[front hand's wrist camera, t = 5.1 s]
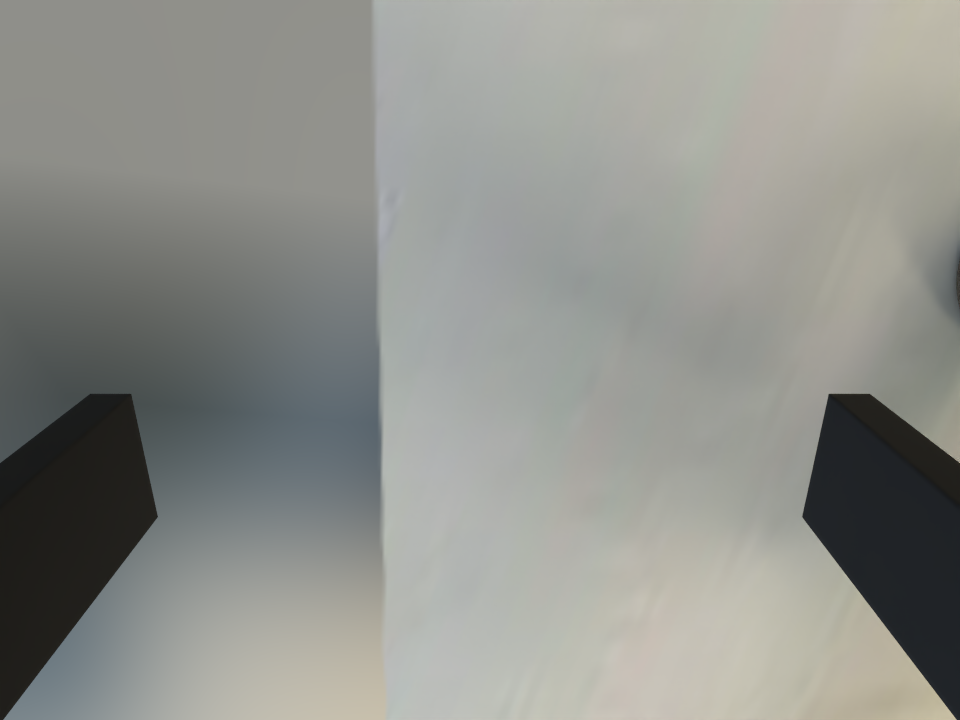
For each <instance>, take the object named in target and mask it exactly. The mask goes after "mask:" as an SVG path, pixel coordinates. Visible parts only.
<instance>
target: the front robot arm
mask: <svg viewBox="0 0 960 720" xmlns="http://www.w3.org/2000/svg"><path fill="white" fill-rule="evenodd" d="M957 295H958V302H959V307H960V261H959V266H958V274H957ZM157 517H158V516H157V511H156V507H155V502H154V498H153V493H152V488H151V484H150V479H149V474H148V470H147V465H146V461H145V456H144V451H143V447H142V442H141V437H140V433H139V428H138V424H137V419H136V415H135V410H134V405H133V401H132V396H131V394H90V395H88V396H87V397H86V398H84V399H83V400H82V401H81V402H79V403H78V404H77V405H75V406H74V407H73V408H71V409H70V410H69V411H68V412H66V413H65V414H64V415H62V416H61V417H60V418H58V419H57V420H56V421H55V422H53V423H52V424H51V425H49V426H48V427H47V428H45V429H44V430H43V431H42V432H40V433H39V434H38V435H36V436H35V437H34V438H32V439H31V440H30V441H29V442H27V443H26V444H25V445H23V446H22V447H21V448H19V449H18V450H17V451H16V452H14V453H13V454H12V455H10V456H9V457H8V458H6V459H5V460H4V461H3V462H1V463H0V720H3V719H4V718H5V717H6V715H7V714H8V713H9V711H10V710H11V709H12V707H13V706H14V705H15V703H16V702H17V701H18V700H19V698H20V697H21V696H22V694H23V693H24V692H25V690H26V689H27V688H28V686H29V685H30V684H31V683H32V681H33V680H34V679H35V677H36V676H37V675H38V673H39V672H40V671H41V669H42V668H43V667H44V665H45V664H46V663H47V661H48V660H49V659H50V658H51V656H52V655H53V654H54V652H55V651H56V650H57V648H58V647H59V646H60V644H61V643H62V642H63V641H64V639H65V638H66V637H67V635H68V634H69V633H70V631H71V630H72V629H73V627H74V626H75V625H76V624H77V622H78V621H79V620H80V618H81V617H82V616H83V614H84V613H85V612H86V610H87V609H88V608H89V606H90V605H91V604H92V603H93V601H94V600H95V599H96V597H97V596H98V595H99V593H100V592H101V591H102V589H103V588H104V587H105V585H106V584H107V583H108V581H109V580H110V579H111V578H112V576H113V575H114V574H115V572H116V571H117V570H118V568H119V567H120V566H121V564H122V563H123V562H124V561H125V559H126V558H127V557H128V555H129V554H130V553H131V551H132V550H133V549H134V547H135V546H136V545H137V543H138V542H139V541H140V540H141V538H142V537H143V536H144V534H145V533H146V532H147V530H148V529H149V528H150V526H151V525H152V524H153V522H154V521H155V520H156V519H157ZM802 517H803V519H804V520H805V521H806V523H807V524H808V525H809V526H810V528H811V529H812V530H813V532H814V533H815V534H816V536H817V537H818V538H819V540H820V541H821V542H822V544H823V545H824V546H825V547H826V549H827V550H828V551H829V553H830V554H831V555H832V557H833V558H834V559H835V561H836V562H837V563H838V565H839V566H840V567H841V568H842V570H843V571H844V572H845V574H846V575H847V576H848V578H849V579H850V580H851V582H852V583H853V584H854V585H855V587H856V588H857V589H858V591H859V592H860V593H861V595H862V596H863V597H864V599H865V600H866V601H867V603H868V604H869V605H870V606H871V608H872V609H873V610H874V612H875V613H876V614H877V616H878V617H879V618H880V620H881V621H882V622H883V624H884V625H885V626H886V627H887V629H888V630H889V631H890V633H891V634H892V635H893V637H894V638H895V639H896V641H897V642H898V643H899V645H900V646H901V647H902V648H903V650H904V651H905V652H906V654H907V655H908V656H909V658H910V659H911V660H912V662H913V663H914V664H915V665H916V667H917V668H918V669H919V671H920V672H921V673H922V675H923V676H924V677H925V679H926V680H927V681H928V683H929V684H930V685H931V686H932V688H933V689H934V690H935V692H936V693H937V694H938V696H939V697H940V698H941V700H942V701H943V702H944V704H945V705H946V706H947V707H948V709H949V710H950V711H951V713H952V714H953V715H954V717H955V718H956V719H957V720H960V463H959V462H957V461H956V460H955V459H954V458H952V457H951V456H950V455H948V454H947V453H946V452H944V451H943V450H942V449H941V448H939V447H938V446H937V445H935V444H934V443H933V442H931V441H930V440H929V439H928V438H926V437H925V436H924V435H922V434H921V433H920V432H918V431H917V430H916V429H915V428H913V427H912V426H911V425H909V424H908V423H907V422H905V421H904V420H903V419H902V418H900V417H899V416H898V415H896V414H895V413H894V412H892V411H891V410H890V409H889V408H887V407H886V406H885V405H883V404H882V403H881V402H879V401H878V400H877V399H876V398H874V397H873V396H872V395H870V394H829V396H828V401H827V405H826V410H825V414H824V419H823V424H822V428H821V433H820V437H819V442H818V447H817V451H816V456H815V461H814V465H813V470H812V474H811V479H810V484H809V488H808V493H807V497H806V502H805V507H804V511H803V516H802Z"/></svg>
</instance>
